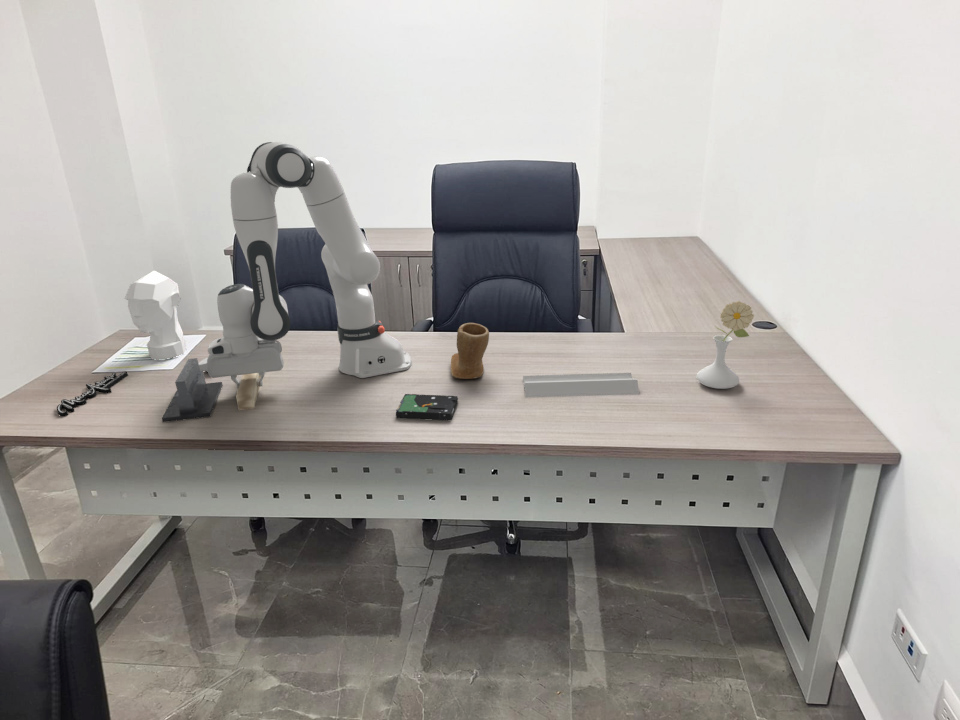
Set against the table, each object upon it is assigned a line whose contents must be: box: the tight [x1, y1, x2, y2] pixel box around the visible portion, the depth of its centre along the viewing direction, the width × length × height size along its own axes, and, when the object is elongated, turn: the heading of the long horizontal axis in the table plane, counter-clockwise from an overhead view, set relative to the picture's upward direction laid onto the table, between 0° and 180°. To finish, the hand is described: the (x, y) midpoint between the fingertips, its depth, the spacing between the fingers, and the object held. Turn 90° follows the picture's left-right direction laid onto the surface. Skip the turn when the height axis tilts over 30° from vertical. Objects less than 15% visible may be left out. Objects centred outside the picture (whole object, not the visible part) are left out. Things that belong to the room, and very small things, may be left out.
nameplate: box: [56, 371, 129, 418], centre depth 184 cm, size 27×2×10 cm
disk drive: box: [395, 393, 459, 421], centre depth 168 cm, size 10×3×15 cm
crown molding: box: [522, 372, 640, 398], centre depth 178 cm, size 31×12×4 cm, turn 90°
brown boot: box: [450, 322, 490, 380], centre depth 188 cm, size 15×12×15 cm
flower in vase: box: [695, 300, 755, 390], centre depth 172 cm, size 13×11×25 cm
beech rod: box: [235, 373, 261, 411], centre depth 182 cm, size 4×22×4 cm, turn 12°
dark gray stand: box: [161, 357, 224, 423], centre depth 175 cm, size 12×20×10 cm, turn 12°
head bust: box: [124, 270, 187, 361], centre depth 205 cm, size 16×19×28 cm
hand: (250, 386), depth 182 cm, fingers closed on beech rod, 4 cm apart
